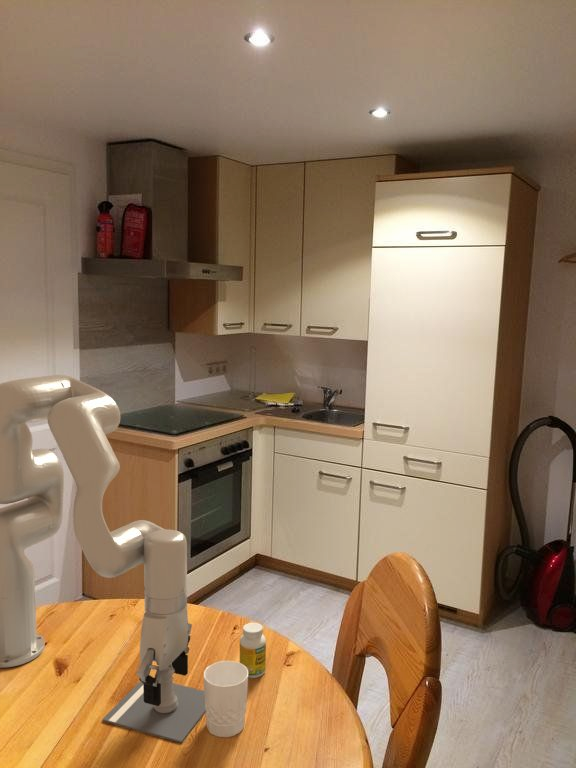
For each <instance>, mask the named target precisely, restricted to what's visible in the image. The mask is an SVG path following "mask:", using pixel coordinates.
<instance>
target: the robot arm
mask: <svg viewBox="0 0 576 768" xmlns="http://www.w3.org/2000/svg"><path fill="white" fill-rule="evenodd" d="M46 419H47V423H48V427H49V430H50V432H51V434H52V435H53V438H54V440H55V443H56V445H57V447H58V449H59V451H60V453H61V455H62V457H63V459H64V461H65V463H66V466H67V467H68V470H69V472H70V474H71V476H72V478H73V481H74V482H75V486H76V492H75V497H74V500H73V513H72V517H73V521H72V522H73V530H74V533H75V537H76V540H77V542H78V544H79V546H80V548H81V551H82V552H83V555H84V556H85V559H86V560H87V563H88V564H89V566H90V567H91V568H92V569H93V571H95V573H96V574H98V576H101V577H103V578H109V579H110V578H111V579H112V578H116V577H118V576H121V575H122V574H125V573H127V572H128V571H130V570H131V569H133V568H134V569H135V567H137V566H140V565H143V570H144V571H143V572H144V573H143V574H144V575H143V578H144V579H143V581H144V582H143V584H144V586H143V587H144V591H143V592H144V611H145V612H144V613H143V616H142V620H141V621H142V622H141V629H140V642H139V666H138V668H137V671H136V674H137V677H138V679H139V682H140V681H141V682H142V684H143V688H144V702H145V703H148V704H152V705H155V706H159V705H160V704H161V684H160V683H159V680H160V677H161V673H162V671H163V670H164V669H166V668H167V667H168V666H169V665H170V664H172V666H173V668H174V670H175V672H174V674H176V675H180V676H187V675H188V673H189V671H188V670H189V665H188V662H189V660H188V659H189V655H188V653H189V651H190V648H189V643H190V641H191V632H192V626H193V625H192V623H189V616H188V542H187V538H186V535H185V534H184V533H182V532H181V531H178V530H176V529H175V530H174V529H166V528H163V527H161V526H159V525H157V524H156V523H154V522H151V521H149V520H146V519H138V520H134V521H132V522H130V523H127V524H125V525H124V526H121V527H119V528H117V529H115V530H112V531H110V529H109V527H108V525H107V522H106V520H105V517H104V513H103V500H104V499H103V498H104V495H105V493H106V490H107V489H108V486H109V485H110V483H111V482H112V480H113V479H115V477H116V476H117V475H118V473H119V472H120V470H121V469H120V468H121V464H120V461H119V460H118V458H117V455H116V454H115V452H114V450H113V447H112V446H111V443H110V441H109V440H108V438H107V435H109V434H111V433H113V432H114V431H116V430H117V429H118V427H119V425H120V422H121V411H120V409H119V406H118V404H117V402H116V401H115V400H114V399H113V397H111V396H110V395H109V394H107V393H105V392H104V391H103V390H101V389H98V388H96V387H94V386H93V385H90V384H88V383H85V382H84V381H81V380H79V379H76V378H75V377H72V376H70V375H65V374H64V375H62V374H55V375H54V374H52V375H47V376H46V375H45V376H38V377H37V376H36V377H27V378H26V377H25V378H19V379H13V380H10V381H9V380H8V381H4V382H2V383H1V382H0V505H5V506H3V507H1V508H0V669H3V668H5V669H6V668H13V667H17V666H21V665H24V664H27V663H28V662H31V661H33V660H34V659H36V658H37V657H39V655H41V654H42V653H43V652H44V650H45V647H46V646H45V644H46V643H45V639H44V636H42V635H41V634H38V633H37V608H36V607H37V605H36V584H35V583H36V582H35V581H36V580H35V568H34V566H33V564H32V561H31V560H30V559H29V558H28V556H26V554H25V550H26V549H28V548H29V547H31V546H34V545H37V544H38V543H41V542H42V541H46V540H48V539H50V538H52V537H54V536H55V535H56V534H57V533H58V532H59V531H60V529H61V525H62V522H63V521H62V520H63V509H64V508H63V507H64V485H65V484H64V482H65V476H64V475H65V474H64V468H63V465H62V462H61V460H60V458H59V457H58V456H57V454H56V453H55V452H54V451H52V450H49V449H47V448H36V449H33V436H32V435H33V434H32V432H31V429H30V427H28V424H27V423H31V422H35V421H40V420H46ZM12 503H13V504H12ZM8 504H9V505H8ZM6 505H7V506H6ZM153 662H154V663H156V665H154V664H153ZM152 670H153V671H155V674H154V677H153V676H152V675H150V673H151V671H152Z"/></svg>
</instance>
